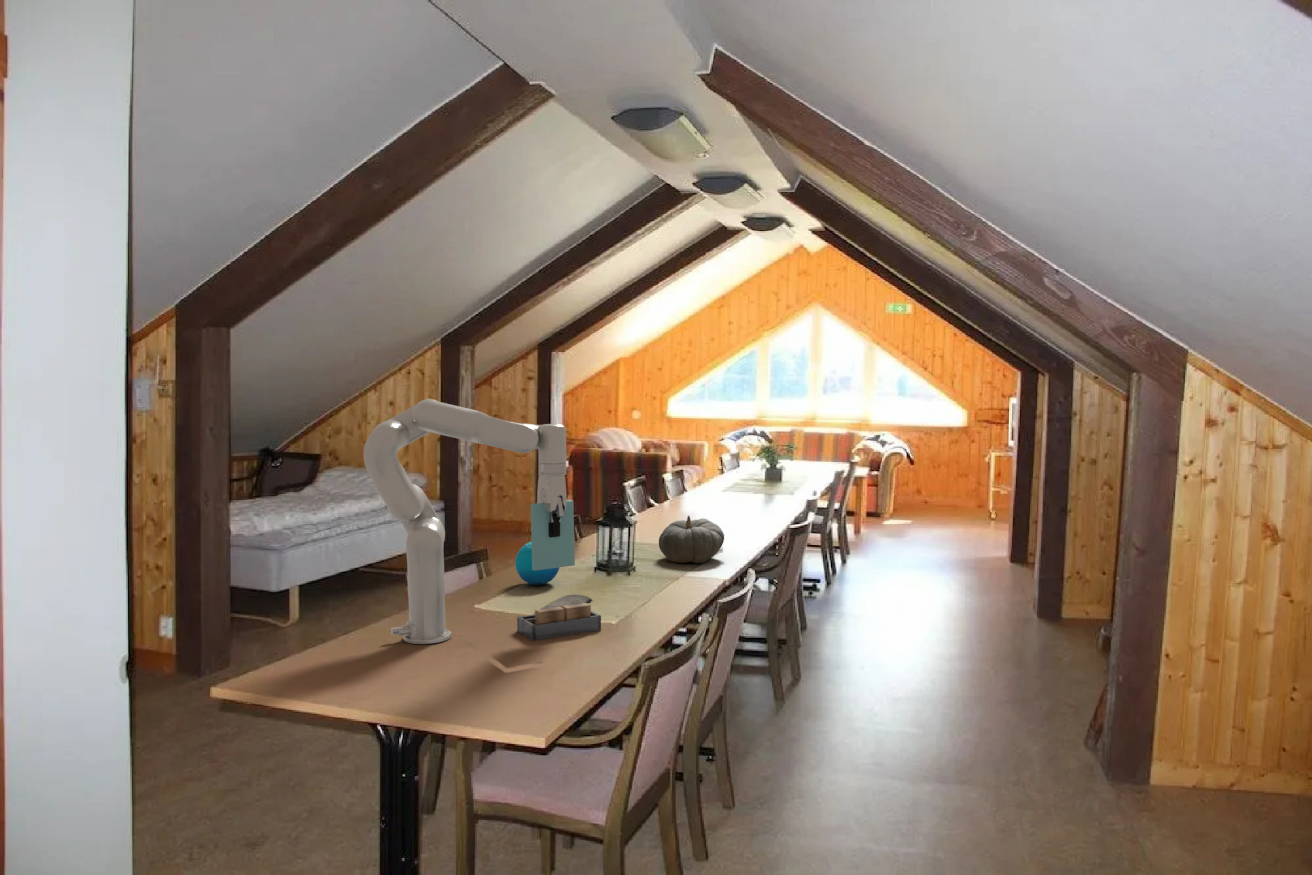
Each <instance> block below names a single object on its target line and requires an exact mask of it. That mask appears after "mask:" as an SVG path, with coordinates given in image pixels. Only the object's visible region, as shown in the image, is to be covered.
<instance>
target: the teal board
mask: <svg viewBox="0 0 1312 875" xmlns="http://www.w3.org/2000/svg"><path fill="white" fill-rule="evenodd" d="M574 507H575V506H574V500H573V499H572V500H567V502H566V510H565V511H563V513H564V515H563V516H562V517H561V522H560V536H559V537H549V523H550V512H546V511H545V510H544V503H537V502H536V503H531V504H530V530H531V532H530V533H531V534H530V535H531V541H532V570H534V571H535V570H543V569H551V568H558V567H560V568H565V567H573V566H575V565H576V561H575V558H576V557H575V556H576V555H575V522H574V520H575V517H574V516H575V515H574V509H575V508H574ZM553 511H557V509H555V510H553ZM553 516H554V514H553Z"/></svg>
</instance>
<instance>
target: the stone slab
mask: <svg viewBox="0 0 1312 875" xmlns="http://www.w3.org/2000/svg"><path fill="white" fill-rule="evenodd" d="M591 601H592V602H593V599H592V598H591V597H588V596H586V595H581V594H568V595H564V596H562V597H559V598H557V599H555V600H553V601H551V602H549V603H548V604H546V605H545V606H543V607H541V608H540V609H546V608H553V607H561V608H563V606H567V605H574V604H581V603H587V604H588V603H589V604H590V603H592V602H591ZM531 615H535V612H533V613H532V614H531Z"/></svg>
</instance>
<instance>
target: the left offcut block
mask: <svg viewBox="0 0 1312 875" xmlns="http://www.w3.org/2000/svg"><path fill="white" fill-rule="evenodd" d="M534 611H535V612H534V613H535V625H537V624H543V623H550V622H557V621H563V620H564V609H563V608H561V607H553V608H546V609H541V608H539V609H534Z"/></svg>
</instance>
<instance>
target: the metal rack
mask: <svg viewBox="0 0 1312 875" xmlns="http://www.w3.org/2000/svg"><path fill="white" fill-rule="evenodd" d="M516 623H517V624H516V628H517V629H516V630H517V632H518V633H519V634H520V635H523V636H524V637H525V638H528V639H529V640H531V641H533V642H536V641H542V640H543V641H544V640H549V639H554V638H560V637H567V636H573V635H574V636H575V635H579V634H586V633H591V632H593V633H594V632H599V631H602V616H601V615H600V614H599V613H596V612H594V611H592V610H591V616H590V617H583V618H577V619H570V620H563V621H557V622H550V623H543V624H537V625H535V615H532V614H531V615H530V614H529V615H523V616H520V615H519V616H516Z"/></svg>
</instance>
